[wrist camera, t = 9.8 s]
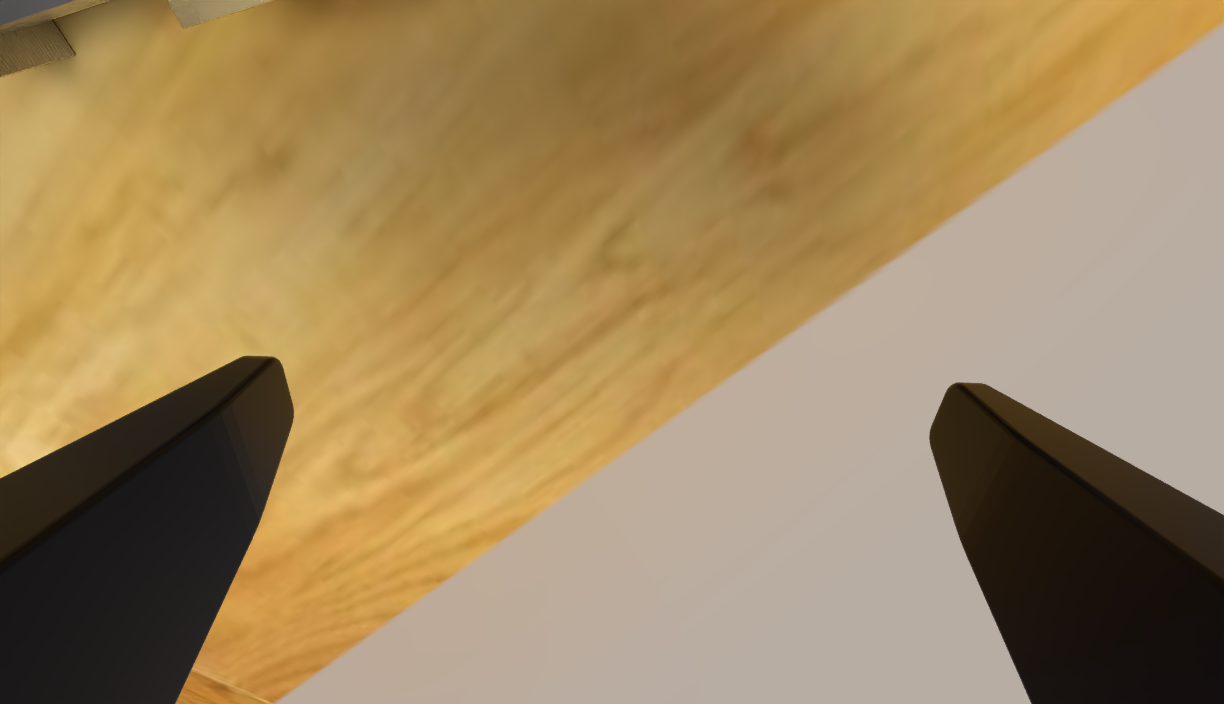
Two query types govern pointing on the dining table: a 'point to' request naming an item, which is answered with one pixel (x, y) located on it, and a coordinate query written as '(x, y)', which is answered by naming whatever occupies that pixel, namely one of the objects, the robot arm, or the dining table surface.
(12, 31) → the pipe valve
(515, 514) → the dining table surface
